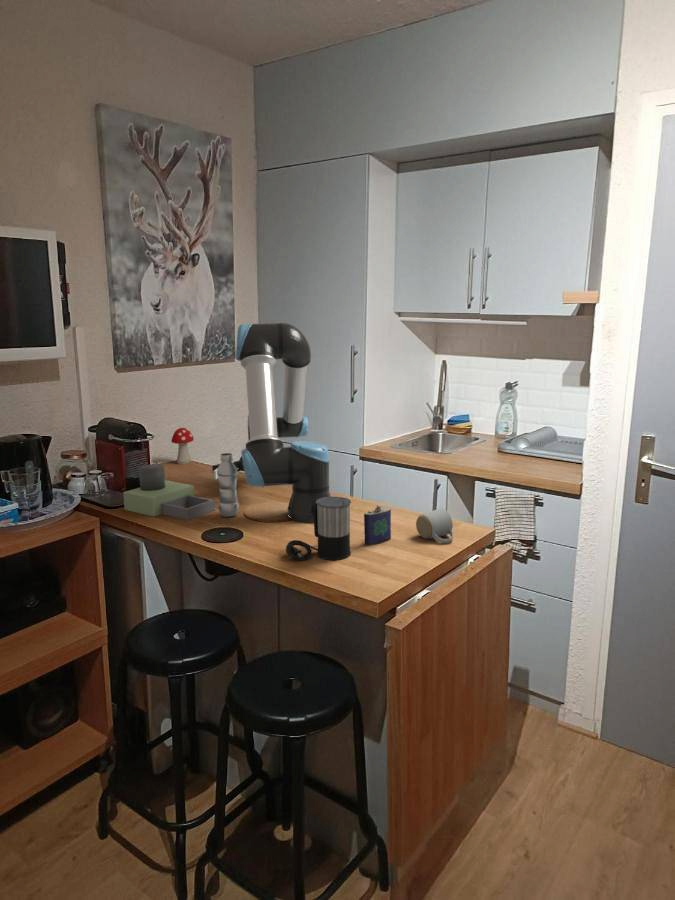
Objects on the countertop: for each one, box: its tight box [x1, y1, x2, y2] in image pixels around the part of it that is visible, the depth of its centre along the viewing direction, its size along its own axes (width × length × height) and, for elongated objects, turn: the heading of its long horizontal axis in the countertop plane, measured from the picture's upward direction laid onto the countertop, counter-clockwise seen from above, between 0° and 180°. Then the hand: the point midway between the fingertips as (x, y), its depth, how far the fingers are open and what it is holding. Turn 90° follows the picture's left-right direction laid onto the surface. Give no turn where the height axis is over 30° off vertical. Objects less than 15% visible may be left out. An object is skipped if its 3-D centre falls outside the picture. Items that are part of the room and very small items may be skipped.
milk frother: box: [285, 496, 352, 561], centre depth 177 cm, size 14×16×15 cm
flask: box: [363, 504, 392, 546], centre depth 188 cm, size 9×3×11 cm, turn 127°
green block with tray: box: [122, 463, 216, 521], centre depth 220 cm, size 26×18×13 cm
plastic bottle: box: [217, 452, 240, 518], centre depth 211 cm, size 6×7×20 cm
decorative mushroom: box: [171, 427, 195, 465], centre depth 285 cm, size 10×9×15 cm
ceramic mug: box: [415, 508, 454, 544], centre depth 190 cm, size 11×8×8 cm
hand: (234, 475), depth 219 cm, fingers open, 13 cm apart
